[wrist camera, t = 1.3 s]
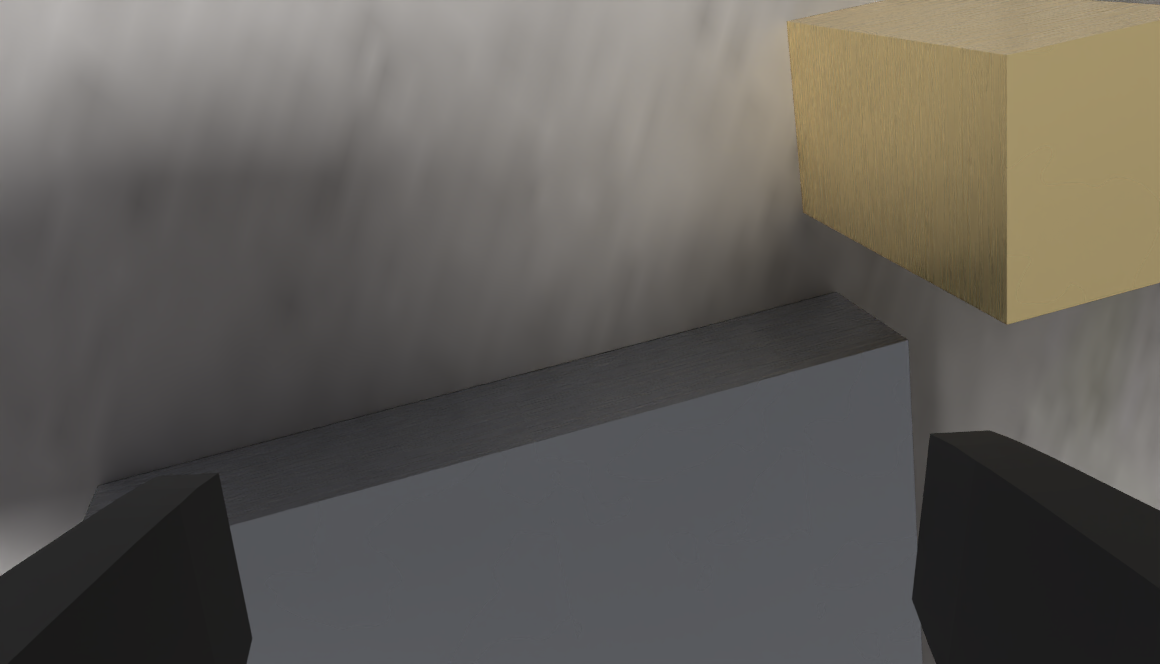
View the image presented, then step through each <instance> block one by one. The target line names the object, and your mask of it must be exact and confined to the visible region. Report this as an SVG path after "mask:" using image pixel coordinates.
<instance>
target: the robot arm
mask: <svg viewBox="0 0 1160 664" xmlns="http://www.w3.org/2000/svg"><path fill="white" fill-rule="evenodd" d="M912 601H913V604H914V606H915V609H916V612H917V615H918V617H919V620H920V623H921V625H922V628H923V631H924V633H925V636H926V639H927V641H928V644H929V647H930V649H931V652H932V654H933V657H934V659H935V661H936V664H1160V511H1159V510H1157V509H1155V508H1153V507H1151V506H1149V505H1147V504H1145V503H1143V502H1141V501H1139V500H1137V499H1135V498H1133V497H1131V496H1129V495H1127V494H1125V493H1123V492H1121V491H1119V490H1117V489H1115V488H1113V487H1111V486H1109V485H1107V484H1105V483H1103V482H1101V481H1099V480H1097V479H1095V478H1093V477H1091V476H1089V475H1087V474H1085V473H1083V472H1081V471H1079V470H1077V469H1075V468H1073V467H1071V466H1069V465H1067V464H1065V463H1063V462H1061V461H1059V460H1057V459H1054V458H1052V457H1050V456H1048V455H1046V454H1044V453H1042V452H1040V451H1038V450H1036V449H1033V448H1031V447H1029V446H1027V445H1025V444H1022V443H1020V442H1018V441H1015V440H1013V439H1011V438H1008V437H1006V436H1003V435H1000V434H998V433H995V432H992V431H971V432H953V433H935V434H930V440H929V449H928V458H927V467H926V476H925V485H924V494H923V503H922V512H921V521H920V530H919V539H918V548H917V557H916V566H915V575H914V584H913V593H912ZM251 643H252V633H251V629H250V624H249V619H248V614H247V609H246V604H245V599H244V594H243V589H242V584H241V579H240V575H239V570H238V565H237V560H236V555H235V550H234V545H233V540H232V535H231V530H230V526H229V521H228V516H227V511H226V506H225V501H224V496H223V491H222V486H221V481H220V476H219V473H206V474H187V475H169V476H157V477H155V478H153V479H151V480H149V481H147V482H145V483H143V484H141V485H140V486H138V487H136V488H135V489H133V490H131V491H130V492H128V493H126V494H125V495H123V496H121V497H120V498H118V499H117V500H115V501H113V502H112V503H110V504H109V505H107V506H106V507H104V508H103V509H101V510H99V511H98V512H96V513H95V514H93V515H92V516H90V517H89V518H87V519H86V520H84V521H83V522H81V523H80V524H78V525H77V526H75V527H74V528H72V529H71V530H69V531H68V532H66V533H65V534H63V535H62V536H60V537H59V538H57V539H56V540H54V541H53V542H51V543H50V544H48V545H47V546H45V547H44V548H42V549H41V550H39V551H38V552H36V553H34V554H33V555H31V556H30V557H28V558H27V559H25V560H24V561H22V562H21V563H19V564H18V565H16V566H15V567H13V568H12V569H10V570H9V571H7V572H6V573H4V574H3V575H1V576H0V664H247V660H248V655H249V651H250V647H251Z"/></svg>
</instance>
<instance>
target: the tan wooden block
mask: <svg viewBox="0 0 1160 664" xmlns="http://www.w3.org/2000/svg"><path fill="white" fill-rule="evenodd" d="M787 29H788V41H789V52H790V64H791V76H792V87H793V99H794V111H795V122H796V134H797V146H798V157H799V169H800V181H801V192H802V204H803V213H805V214H807V215H809V216H810V217H812V218H814V219H816V220H818V221H820V222H821V223H823V224H825V225H827V226H829V227H830V228H832V229H834V230H836V231H838V232H840V233H841V234H843V235H845V236H847V237H849V238H850V239H852V240H854V241H856V242H858V243H859V244H861V245H863V246H865V247H867V248H869V249H870V250H872V251H874V252H876V253H878V254H879V255H881V256H883V257H885V258H887V259H889V260H890V261H892V262H894V263H896V264H898V265H899V266H901V267H903V268H905V269H907V270H909V271H910V272H912V273H914V274H916V275H918V276H919V277H921V278H923V279H925V280H927V281H929V282H930V283H932V284H934V285H936V286H938V287H939V288H941V289H943V290H945V291H947V292H949V293H950V294H952V295H954V296H956V297H958V298H959V299H961V300H963V301H965V302H967V303H969V304H970V305H972V306H974V307H976V308H978V309H979V310H981V311H983V312H985V313H987V314H988V315H990V316H992V317H994V318H996V319H998V320H999V321H1001V322H1003V323H1005V324H1007V325H1008V324H1011V323H1015V322H1019V321H1022V320H1026V319H1030V318H1033V317H1037V316H1040V315H1044V314H1048V313H1051V312H1055V311H1059V310H1062V309H1066V308H1070V307H1073V306H1077V305H1080V304H1084V303H1088V302H1091V301H1095V300H1099V299H1102V298H1106V297H1110V296H1113V295H1117V294H1120V293H1124V292H1128V291H1131V290H1135V289H1139V288H1142V287H1146V286H1150V285H1153V284H1157V283H1160V5H1154V4H1139V3H1123V2H1108V1H1092V0H884V1H879V2H875V3H870V4H865V5H861V6H856V7H852V8H847V9H842V10H838V11H833V12H828V13H824V14H819V15H814V16H810V17H805V18H800V19H796V20H791V21H787Z"/></svg>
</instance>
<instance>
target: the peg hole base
mask: <svg viewBox="0 0 1160 664" xmlns="http://www.w3.org/2000/svg"><path fill="white" fill-rule="evenodd" d="M206 473H219V476H220V481H221V486H222V491H223V496H224V501H225V506H226V511H227V516H228V521H229V526H230V530H231V535H232V540H233V545H234V550H235V555H236V560H237V565H238V570H239V575H240V579H241V584H242V589H243V594H244V599H245V604H246V609H247V614H248V619H249V624H250V629H251V633H252V643H251V647H250V651H249V655H248V660H247V664H923V662H922V639H921V623H920V620H919V617H918V615H917V612H916V609H915V606H914V604H913V601H912V593H913V584H914V575H915V566H916V557H917V526H916V503H915V481H914V458H913V435H912V413H911V390H910V367H909V345H908V340H907V339H906V338H904V337H903V336H901V335H900V334H898V333H897V332H895V331H894V330H892V329H891V328H889V327H888V326H886V325H885V324H883V323H882V322H880V321H879V320H877V319H876V318H874V317H873V316H871V315H870V314H868V313H867V312H865V311H864V310H862V309H861V308H859V307H858V306H856V305H855V304H853V303H852V302H850V301H849V300H847V299H846V298H844V297H843V296H841V295H840V294H838V293H837V292H835V293H831V294H827V295H823V296H819V297H816V298H812V299H808V300H804V301H800V302H796V303H793V304H789V305H785V306H781V307H777V308H774V309H770V310H766V311H762V312H758V313H755V314H751V315H747V316H743V317H739V318H735V319H732V320H728V321H724V322H720V323H716V324H713V325H709V326H705V327H701V328H697V329H694V330H690V331H686V332H682V333H678V334H675V335H671V336H667V337H663V338H659V339H655V340H652V341H648V342H644V343H640V344H636V345H633V346H629V347H625V348H621V349H617V350H614V351H610V352H606V353H602V354H598V355H595V356H591V357H587V358H583V359H579V360H575V361H572V362H568V363H564V364H560V365H556V366H553V367H549V368H545V369H541V370H537V371H534V372H530V373H526V374H522V375H518V376H515V377H511V378H507V379H503V380H499V381H495V382H492V383H488V384H484V385H480V386H476V387H473V388H469V389H465V390H461V391H457V392H454V393H450V394H446V395H442V396H438V397H434V398H431V399H427V400H423V401H419V402H415V403H412V404H408V405H404V406H400V407H396V408H393V409H389V410H385V411H381V412H377V413H374V414H370V415H366V416H362V417H358V418H354V419H351V420H347V421H343V422H339V423H335V424H332V425H328V426H324V427H320V428H316V429H313V430H309V431H305V432H301V433H297V434H294V435H290V436H286V437H282V438H278V439H274V440H271V441H267V442H263V443H259V444H255V445H252V446H248V447H244V448H240V449H236V450H233V451H229V452H225V453H221V454H217V455H213V456H210V457H206V458H202V459H198V460H194V461H191V462H187V463H183V464H179V465H175V466H172V467H168V468H164V469H160V470H156V471H153V472H149V473H145V474H141V475H137V476H133V477H130V478H126V479H122V480H118V481H114V482H111V483H107V484H103V485H99V486H98V487H97V490H96V492H95V494H94V497H93V499H92V501H91V504H90V506H89V508H88V511H87V513H86V515H85V518H84V520H86V519H87V518H89V517H90V516H92V515H93V514H95V513H96V512H98V511H99V510H101V509H103V508H104V507H106V506H107V505H109V504H110V503H112V502H113V501H115V500H117V499H118V498H120V497H121V496H123V495H125V494H126V493H128V492H130V491H131V490H133V489H135V488H136V487H138V486H140V485H141V484H143V483H145V482H147V481H149V480H151V479H153V478H155V477H157V476H169V475H187V474H206ZM84 520H83V521H84Z"/></svg>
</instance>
